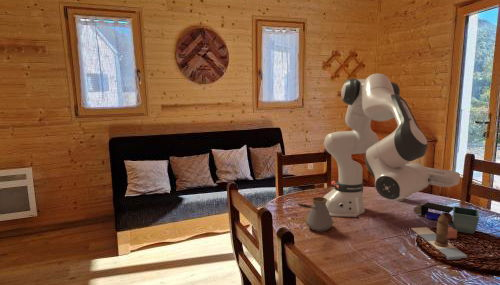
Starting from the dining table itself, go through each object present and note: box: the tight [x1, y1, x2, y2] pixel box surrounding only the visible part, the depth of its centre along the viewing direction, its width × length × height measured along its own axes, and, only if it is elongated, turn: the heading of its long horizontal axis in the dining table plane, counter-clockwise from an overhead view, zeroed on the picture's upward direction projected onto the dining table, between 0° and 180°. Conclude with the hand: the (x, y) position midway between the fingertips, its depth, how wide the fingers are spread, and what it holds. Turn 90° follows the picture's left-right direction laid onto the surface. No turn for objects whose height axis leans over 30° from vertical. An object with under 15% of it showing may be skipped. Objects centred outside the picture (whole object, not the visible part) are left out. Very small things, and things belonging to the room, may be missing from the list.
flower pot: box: [452, 205, 480, 235], centre depth 136 cm, size 9×9×9 cm
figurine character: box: [413, 202, 454, 224], centre depth 149 cm, size 7×8×15 cm
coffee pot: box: [295, 196, 334, 232], centre depth 140 cm, size 21×12×15 cm, turn 135°
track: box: [410, 226, 468, 261], centre depth 128 cm, size 7×24×1 cm, turn 4°
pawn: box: [435, 216, 449, 247], centre depth 124 cm, size 4×4×11 cm
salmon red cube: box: [447, 226, 458, 239], centre depth 132 cm, size 4×4×4 cm
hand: (433, 169), depth 112 cm, fingers open, 8 cm apart
